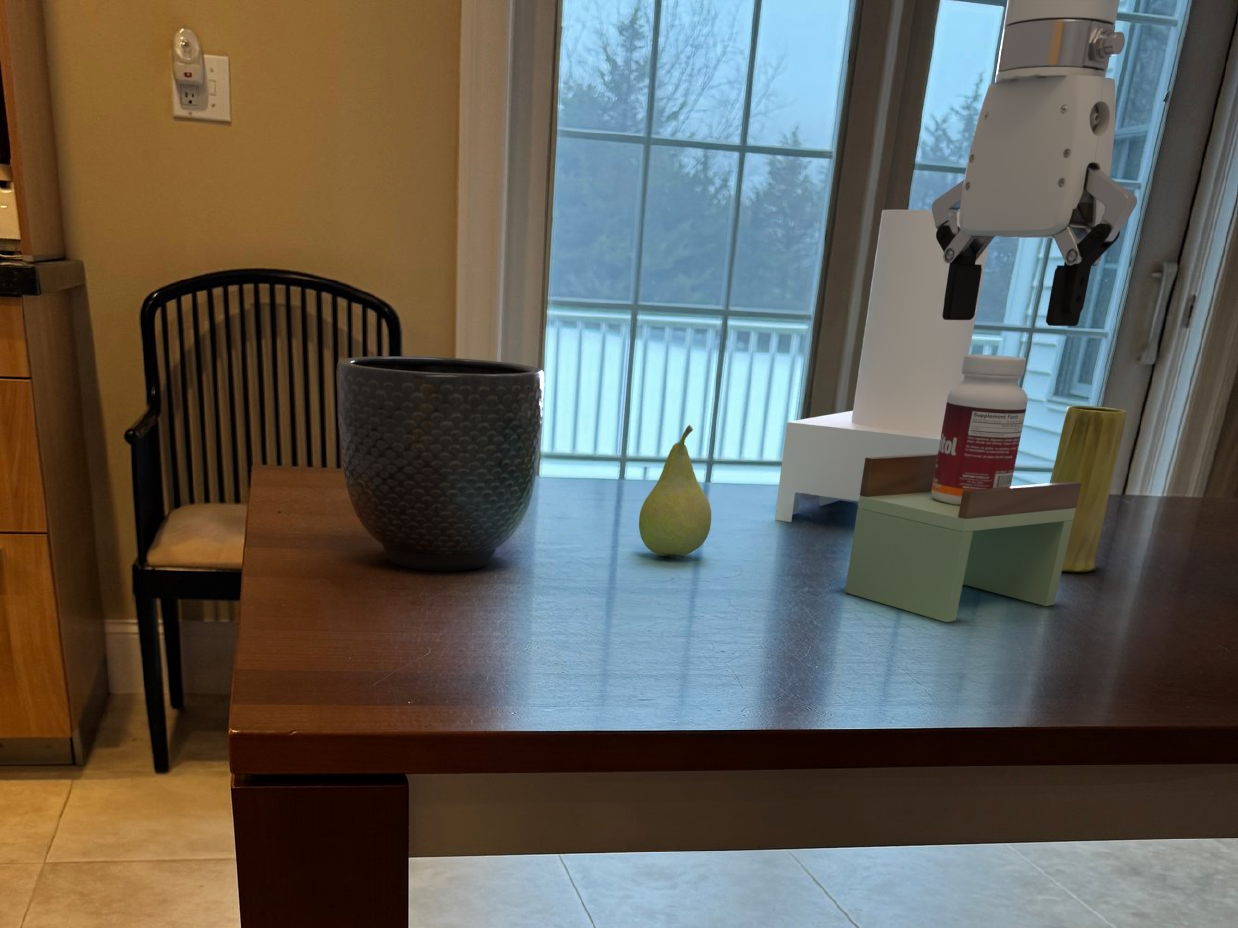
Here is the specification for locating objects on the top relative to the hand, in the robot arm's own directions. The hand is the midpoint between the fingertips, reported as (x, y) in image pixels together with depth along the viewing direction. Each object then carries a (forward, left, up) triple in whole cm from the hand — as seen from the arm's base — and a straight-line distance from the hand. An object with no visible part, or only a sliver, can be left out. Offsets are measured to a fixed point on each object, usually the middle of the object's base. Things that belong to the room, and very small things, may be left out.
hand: (1007, 322), depth 100 cm
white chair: (+29, -24, -22) cm, 43 cm away
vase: (+5, -22, -22) cm, 31 cm away
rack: (0, 0, -22) cm, 21 cm away
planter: (+30, +33, -22) cm, 50 cm away
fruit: (+23, +12, -22) cm, 34 cm away
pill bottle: (0, 0, -14) cm, 14 cm away
